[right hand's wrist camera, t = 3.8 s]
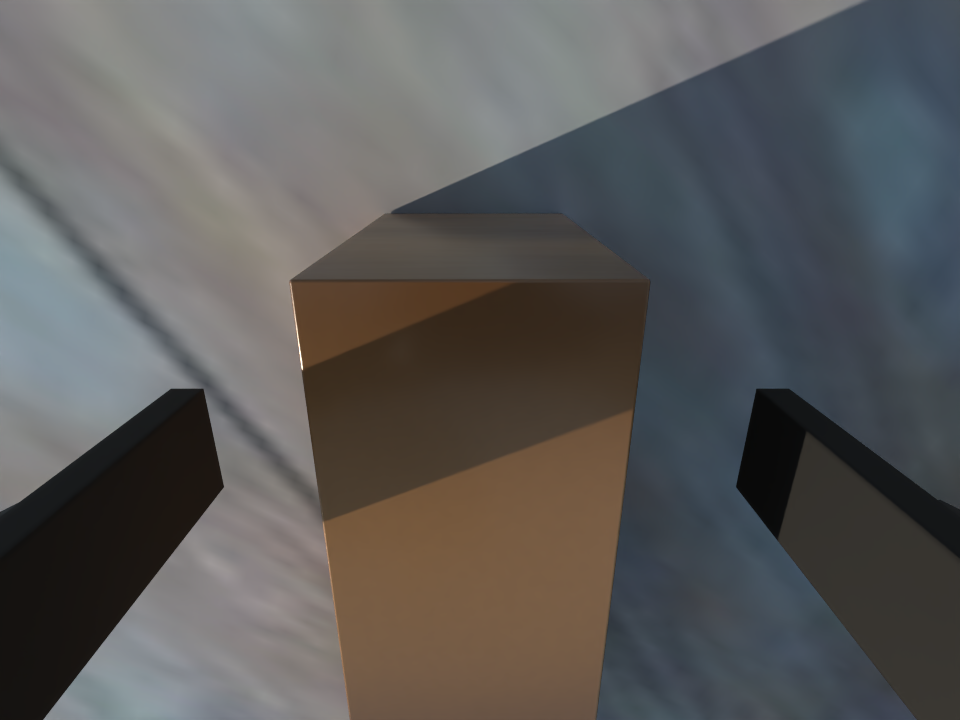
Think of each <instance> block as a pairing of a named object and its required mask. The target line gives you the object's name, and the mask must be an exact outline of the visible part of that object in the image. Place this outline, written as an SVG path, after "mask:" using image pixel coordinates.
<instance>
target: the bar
mask: <svg viewBox="0 0 960 720" xmlns="http://www.w3.org/2000/svg"><path fill="white" fill-rule="evenodd" d="M289 283H290V290H291V297H292V304H293V312H294V319H295V326H296V333H297V341H298V348H299V355H300V362H301V369H302V377H303V384H304V391H305V398H306V406H307V413H308V420H309V427H310V435H311V442H312V449H313V456H314V463H315V471H316V478H317V485H318V492H319V500H320V507H321V514H322V521H323V528H324V536H325V543H326V550H327V557H328V565H329V572H330V579H331V586H332V593H333V601H334V608H335V615H336V622H337V630H338V637H339V644H340V651H341V659H342V666H343V673H344V680H345V687H346V695H347V702H348V709H349V716H350V720H596V718H597V709H598V701H599V693H600V685H601V677H602V669H603V661H604V653H605V645H606V637H607V629H608V621H609V612H610V604H611V596H612V588H613V580H614V572H615V564H616V556H617V548H618V540H619V532H620V524H621V516H622V507H623V499H624V491H625V483H626V475H627V467H628V459H629V451H630V443H631V435H632V427H633V419H634V411H635V402H636V394H637V386H638V378H639V370H640V362H641V354H642V346H643V338H644V330H645V322H646V314H647V306H648V297H649V289H650V280H649V279H648V278H647V277H645V276H644V275H643V274H641V273H640V272H639V271H638V270H636V269H635V268H634V267H632V266H631V265H630V264H628V263H627V262H626V261H624V260H623V259H622V258H620V257H619V256H618V255H616V254H615V253H614V252H612V251H611V250H610V249H608V248H607V247H606V246H604V245H603V244H602V243H601V242H599V241H598V240H597V239H595V238H594V237H593V236H591V235H590V234H589V233H587V232H586V231H585V230H583V229H582V228H581V227H579V226H578V225H577V224H575V223H574V222H573V221H571V220H570V219H569V218H567V217H566V216H565V215H563V214H384V215H383V216H381V217H380V218H378V219H377V220H375V221H374V222H373V223H371V224H370V225H368V226H367V227H365V228H364V229H363V230H361V231H360V232H358V233H357V234H355V235H354V236H353V237H351V238H350V239H348V240H347V241H345V242H344V243H342V244H341V245H340V246H338V247H337V248H335V249H334V250H332V251H331V252H330V253H328V254H327V255H325V256H324V257H322V258H321V259H320V260H318V261H317V262H315V263H314V264H312V265H311V266H310V267H308V268H307V269H305V270H304V271H302V272H301V273H300V274H298V275H297V276H295V277H294V278H292V279H291V280H290V282H289Z"/></svg>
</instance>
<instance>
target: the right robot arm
mask: <svg viewBox="0 0 960 720" xmlns="http://www.w3.org/2000/svg"><path fill="white" fill-rule="evenodd" d="M223 488H224V485H223V480H222V475H221V471H220V466H219V461H218V456H217V451H216V447H215V442H214V437H213V432H212V427H211V423H210V418H209V413H208V408H207V404H206V399H205V394H204V389H170V390H169V391H168V392H166V393H165V394H164V395H162V396H161V397H160V398H158V399H157V400H155V401H154V402H153V403H151V404H150V405H149V406H147V407H146V408H145V409H143V410H142V411H141V412H139V413H138V414H137V415H135V416H134V417H133V418H131V419H130V420H129V421H127V422H126V423H125V424H123V425H122V426H121V427H119V428H118V429H117V430H115V431H114V432H113V433H111V434H110V435H109V436H107V437H106V438H105V439H103V440H102V441H101V442H99V443H98V444H97V445H95V446H94V447H93V448H91V449H90V450H89V451H87V452H86V453H85V454H83V455H82V456H81V457H79V458H78V459H77V460H75V461H74V462H73V463H71V464H70V465H69V466H67V467H66V468H65V469H63V470H62V471H61V472H59V473H58V474H57V475H55V476H54V477H53V478H51V479H50V480H49V481H47V482H46V483H45V484H43V485H42V486H41V487H39V488H38V489H37V490H35V491H34V492H33V493H31V494H30V495H29V496H27V497H26V498H25V499H23V500H22V501H21V502H19V503H17V504H15V505H13V506H11V507H9V508H7V509H5V510H3V511H1V512H0V720H43V719H44V718H45V717H46V715H47V714H48V713H49V711H50V710H51V709H52V708H53V706H54V705H55V704H56V702H57V701H58V700H59V699H60V697H61V696H62V695H63V693H64V692H65V691H66V690H67V688H68V687H69V686H70V684H71V683H72V682H73V681H74V679H75V678H76V677H77V675H78V674H79V673H80V671H81V670H82V669H83V668H84V666H85V665H86V664H87V662H88V661H89V660H90V659H91V657H92V656H93V655H94V653H95V652H96V651H97V650H98V648H99V647H100V646H101V644H102V643H103V642H104V641H105V639H106V638H107V637H108V635H109V634H110V633H111V632H112V630H113V629H114V628H115V626H116V625H117V624H118V623H119V621H120V620H121V619H122V617H123V616H124V615H125V614H126V612H127V611H128V610H129V608H130V607H131V606H132V605H133V603H134V602H135V601H136V599H137V598H138V597H139V596H140V594H141V593H142V592H143V590H144V589H145V588H146V587H147V585H148V584H149V583H150V581H151V580H152V579H153V578H154V576H155V575H156V574H157V572H158V571H159V570H160V569H161V567H162V566H163V565H164V563H165V562H166V561H167V560H168V558H169V557H170V556H171V554H172V553H173V552H174V551H175V549H176V548H177V547H178V545H179V544H180V543H181V542H182V540H183V539H184V538H185V536H186V535H187V534H188V533H189V531H190V530H191V529H192V527H193V526H194V525H195V524H196V522H197V521H198V520H199V518H200V517H201V516H202V515H203V513H204V512H205V511H206V509H207V508H208V507H209V506H210V504H211V503H212V502H213V500H214V499H215V498H216V497H217V495H218V494H219V493H220V491H221V490H222V489H223ZM736 488H737V489H738V490H739V491H740V493H741V494H742V495H743V497H744V498H745V499H746V500H747V502H748V503H749V504H750V506H751V507H752V508H753V509H754V511H755V512H756V513H757V515H758V516H759V517H760V518H761V520H762V521H763V522H764V524H765V525H766V526H767V527H768V529H769V530H770V531H771V533H772V534H773V535H774V536H775V538H776V539H777V540H778V542H779V543H780V544H781V545H782V547H783V548H784V549H785V551H786V552H787V553H788V554H789V556H790V557H791V558H792V560H793V561H794V562H795V563H796V565H797V566H798V567H799V569H800V570H801V571H802V572H803V574H804V575H805V576H806V578H807V579H808V580H809V581H810V583H811V584H812V585H813V587H814V588H815V589H816V590H817V592H818V593H819V594H820V596H821V597H822V598H823V599H824V601H825V602H826V603H827V605H828V606H829V607H830V608H831V610H832V611H833V612H834V614H835V615H836V616H837V617H838V619H839V620H840V621H841V623H842V624H843V625H844V626H845V628H846V629H847V630H848V632H849V633H850V634H851V635H852V637H853V638H854V639H855V641H856V642H857V643H858V644H859V646H860V647H861V648H862V650H863V651H864V652H865V653H866V655H867V656H868V657H869V659H870V660H871V661H872V662H873V664H874V665H875V666H876V668H877V669H878V670H879V671H880V673H881V674H882V675H883V677H884V678H885V679H886V681H887V682H888V683H889V684H890V686H891V687H892V688H893V690H894V691H895V692H896V693H897V695H898V696H899V697H900V699H901V700H902V701H903V702H904V704H905V705H906V706H907V708H908V709H909V710H910V711H911V713H912V714H913V715H914V717H915V718H916V719H917V720H960V510H959V509H957V508H955V507H953V506H951V505H949V504H947V503H945V502H943V501H941V500H937V499H935V498H934V497H933V496H931V495H930V494H929V493H927V492H926V491H925V490H923V489H922V488H921V487H919V486H918V485H917V484H915V483H914V482H913V481H911V480H910V479H909V478H907V477H906V476H905V475H903V474H902V473H901V472H899V471H898V470H897V469H895V468H894V467H893V466H891V465H890V464H889V463H887V462H886V461H885V460H883V459H882V458H881V457H879V456H878V455H877V454H875V453H874V452H873V451H871V450H870V449H869V448H867V447H866V446H865V445H863V444H862V443H861V442H859V441H858V440H857V439H855V438H854V437H853V436H851V435H850V434H849V433H847V432H846V431H845V430H843V429H842V428H841V427H839V426H838V425H837V424H835V423H834V422H833V421H831V420H830V419H829V418H827V417H826V416H825V415H823V414H822V413H821V412H819V411H818V410H817V409H815V408H814V407H813V406H811V405H810V404H809V403H807V402H806V401H805V400H803V399H802V398H800V397H799V396H798V395H796V394H795V393H794V392H792V391H791V390H790V389H756V394H755V399H754V404H753V408H752V413H751V418H750V423H749V427H748V432H747V437H746V442H745V447H744V451H743V456H742V461H741V466H740V471H739V475H738V480H737V485H736Z"/></svg>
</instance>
